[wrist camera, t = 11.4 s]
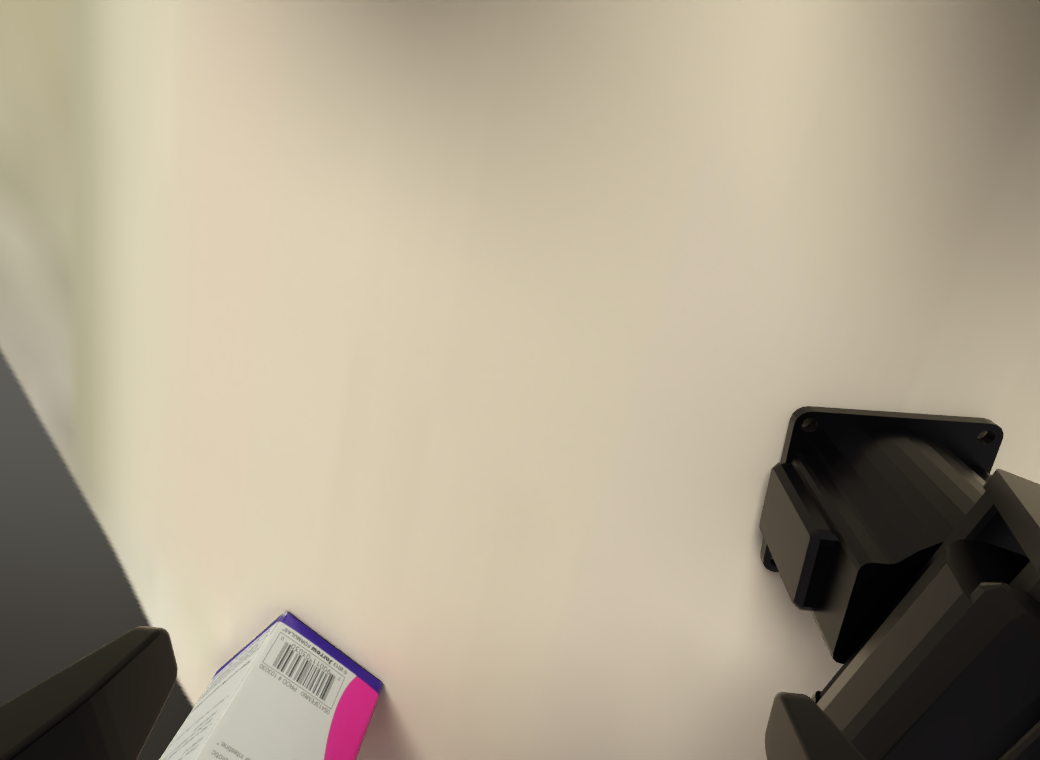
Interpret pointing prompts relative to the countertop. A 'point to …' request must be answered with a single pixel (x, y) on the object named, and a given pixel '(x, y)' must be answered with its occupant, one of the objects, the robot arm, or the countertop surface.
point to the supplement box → (281, 702)
